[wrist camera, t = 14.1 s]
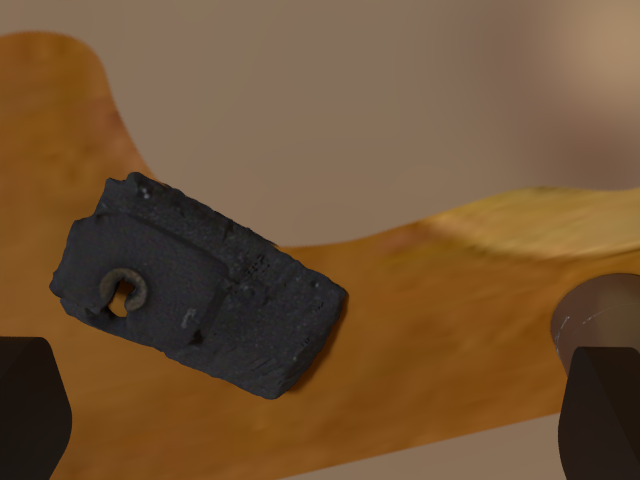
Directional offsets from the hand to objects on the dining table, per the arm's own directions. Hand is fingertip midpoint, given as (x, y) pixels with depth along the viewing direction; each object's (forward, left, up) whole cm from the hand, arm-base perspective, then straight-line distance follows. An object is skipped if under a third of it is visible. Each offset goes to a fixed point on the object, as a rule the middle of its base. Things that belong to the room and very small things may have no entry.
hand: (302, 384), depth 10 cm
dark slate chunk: (+13, +22, -35) cm, 43 cm away
